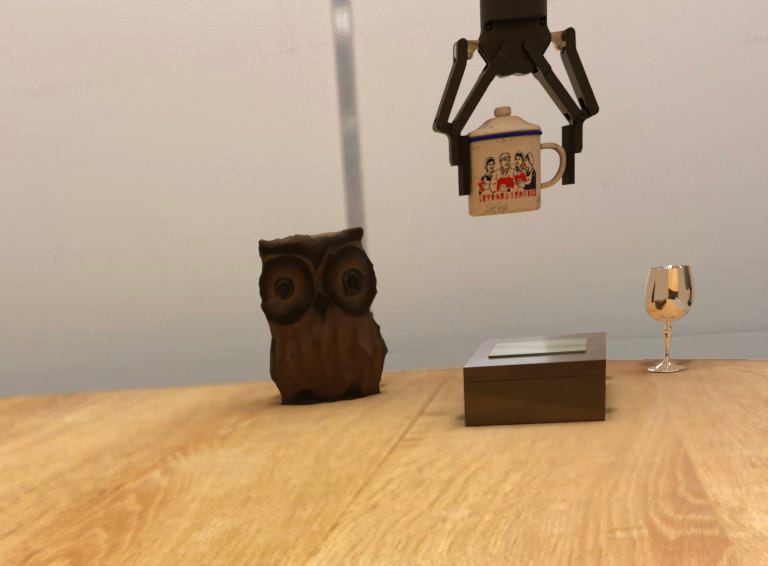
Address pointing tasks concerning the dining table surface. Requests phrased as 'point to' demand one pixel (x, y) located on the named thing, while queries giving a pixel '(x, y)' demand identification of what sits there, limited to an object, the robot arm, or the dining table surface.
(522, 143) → the teacup with lid
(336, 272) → the owl
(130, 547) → the dining table surface
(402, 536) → the dining table surface
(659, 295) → the wineglass
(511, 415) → the wooden keepsake box
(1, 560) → the dining table surface
